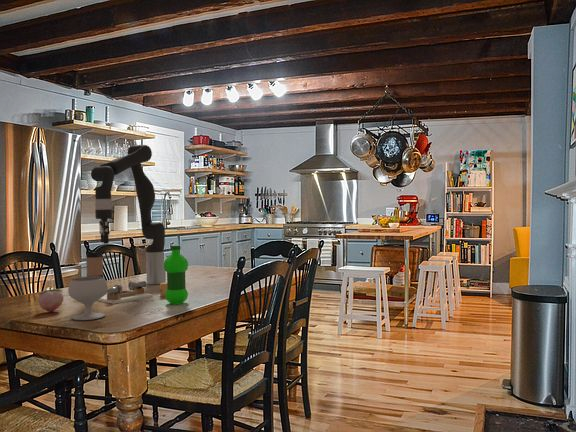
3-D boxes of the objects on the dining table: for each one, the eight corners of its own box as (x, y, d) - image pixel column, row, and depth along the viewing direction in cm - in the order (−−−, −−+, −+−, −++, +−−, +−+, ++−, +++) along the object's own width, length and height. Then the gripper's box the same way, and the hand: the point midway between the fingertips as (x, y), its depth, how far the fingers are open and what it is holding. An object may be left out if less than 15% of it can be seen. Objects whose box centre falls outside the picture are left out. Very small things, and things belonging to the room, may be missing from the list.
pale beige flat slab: (130, 293, 253) (130, 287, 253) (152, 297, 241) (152, 291, 241) (92, 299, 238) (92, 293, 238) (113, 303, 226) (113, 297, 226)
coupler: (166, 295, 246) (166, 282, 246) (173, 296, 243) (172, 283, 243) (157, 296, 243) (157, 283, 242) (164, 297, 239) (164, 284, 239)
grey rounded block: (113, 297, 235) (112, 284, 235) (123, 297, 235) (123, 284, 234) (105, 300, 227) (104, 287, 227) (116, 300, 227) (115, 287, 226)
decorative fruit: (56, 308, 217) (56, 284, 216) (66, 311, 211) (66, 286, 211) (33, 312, 209) (33, 287, 209) (43, 315, 204) (43, 289, 204)
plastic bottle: (165, 306, 218) (163, 246, 217) (164, 302, 228) (163, 244, 228) (189, 304, 221) (188, 245, 220) (187, 300, 231) (186, 244, 230)
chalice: (112, 313, 206) (112, 275, 205) (101, 321, 192) (100, 280, 191) (76, 314, 205) (75, 276, 205) (62, 322, 191) (61, 281, 191)
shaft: (142, 291, 250) (141, 279, 250) (148, 292, 247) (147, 280, 247) (127, 293, 244) (126, 281, 244) (133, 294, 241) (132, 282, 241)
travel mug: (106, 291, 261) (105, 251, 260) (99, 293, 253) (98, 252, 253) (91, 291, 261) (90, 251, 261) (84, 293, 254) (83, 252, 253)
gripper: (114, 208, 242) (115, 243, 242) (109, 208, 255) (110, 241, 255) (97, 209, 239) (98, 244, 239) (93, 208, 251) (94, 242, 252)
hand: (104, 242), depth 247 cm, fingers open, 8 cm apart
